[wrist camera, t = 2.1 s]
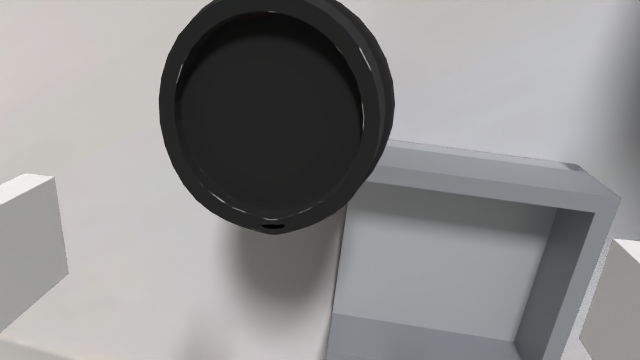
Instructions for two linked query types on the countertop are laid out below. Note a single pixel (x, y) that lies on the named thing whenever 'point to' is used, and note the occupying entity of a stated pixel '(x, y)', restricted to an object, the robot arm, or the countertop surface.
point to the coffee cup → (275, 110)
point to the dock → (466, 256)
